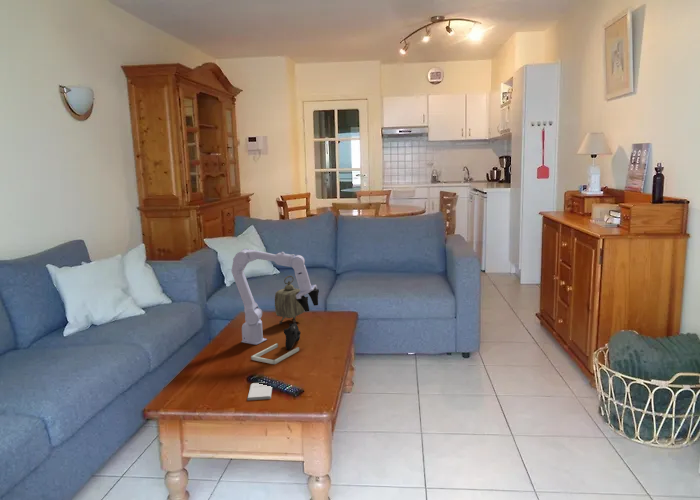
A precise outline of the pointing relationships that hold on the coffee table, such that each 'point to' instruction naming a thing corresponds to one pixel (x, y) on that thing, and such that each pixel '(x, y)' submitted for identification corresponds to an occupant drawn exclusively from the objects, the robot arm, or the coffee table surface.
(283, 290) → the tabletop clock
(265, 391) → the external hard drive
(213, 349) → the coffee table surface
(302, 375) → the coffee table surface
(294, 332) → the gaming controller
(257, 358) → the grey u-shaped bracket
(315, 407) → the coffee table surface
